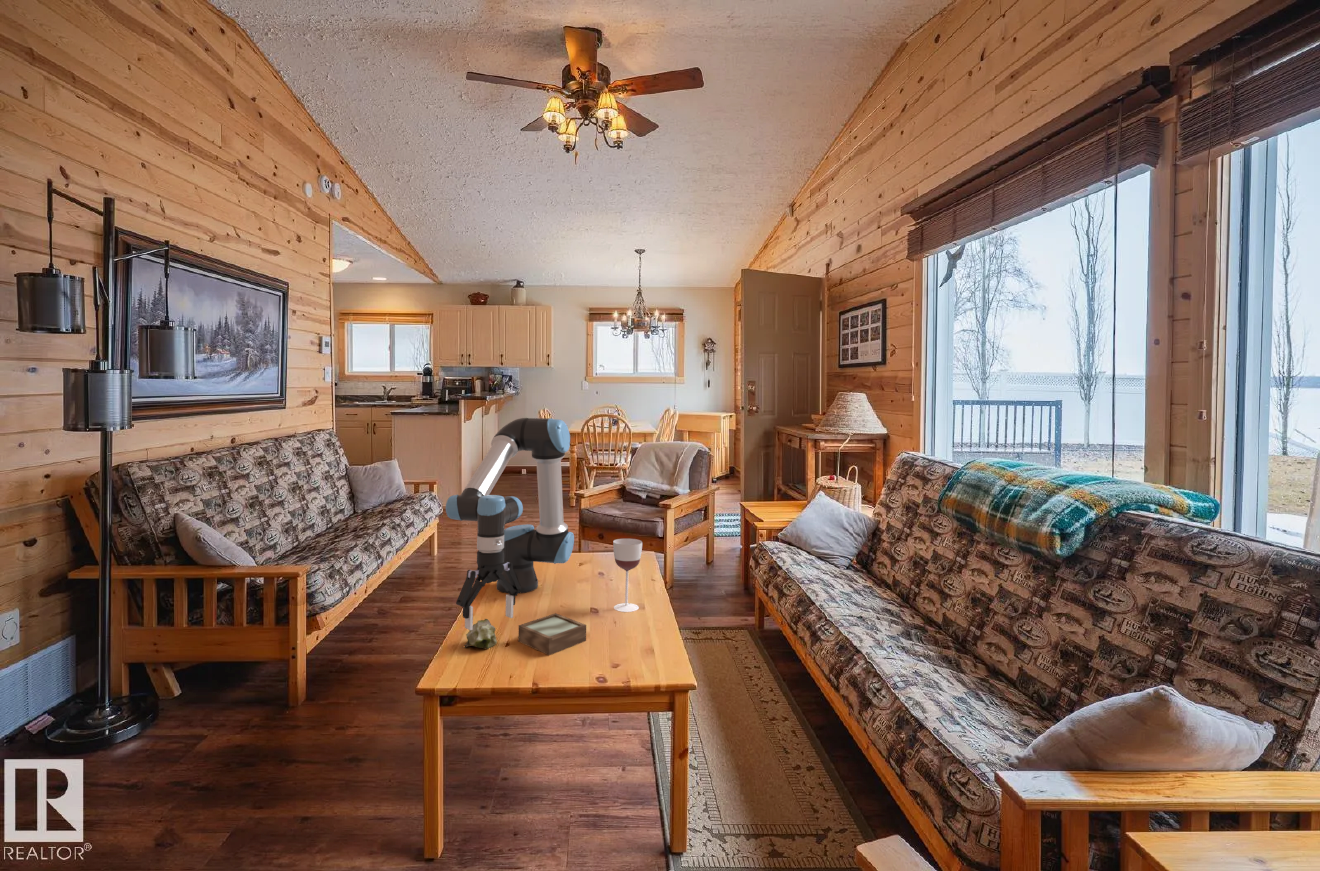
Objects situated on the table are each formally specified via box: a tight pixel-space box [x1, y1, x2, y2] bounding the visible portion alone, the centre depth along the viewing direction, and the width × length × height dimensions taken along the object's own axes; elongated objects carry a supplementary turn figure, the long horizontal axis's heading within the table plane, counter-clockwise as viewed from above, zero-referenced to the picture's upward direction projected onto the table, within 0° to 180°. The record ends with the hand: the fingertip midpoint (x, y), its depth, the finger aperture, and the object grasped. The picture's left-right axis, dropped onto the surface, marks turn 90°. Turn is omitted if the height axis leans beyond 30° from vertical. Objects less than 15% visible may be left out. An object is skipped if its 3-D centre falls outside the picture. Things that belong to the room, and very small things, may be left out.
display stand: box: [517, 612, 587, 656], centre depth 179 cm, size 14×14×5 cm
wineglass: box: [612, 538, 643, 613], centre depth 209 cm, size 9×10×23 cm
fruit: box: [463, 618, 498, 650], centre depth 175 cm, size 9×9×8 cm
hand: (489, 622), depth 175 cm, fingers open, 13 cm apart
